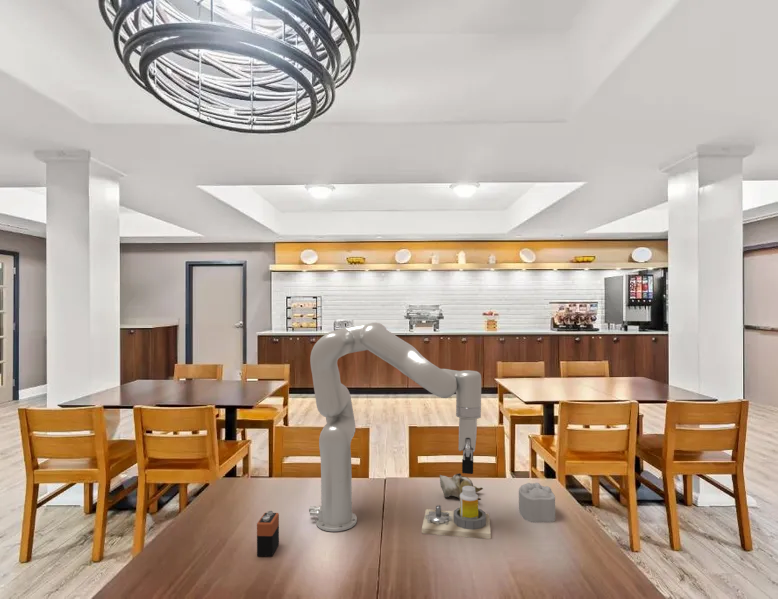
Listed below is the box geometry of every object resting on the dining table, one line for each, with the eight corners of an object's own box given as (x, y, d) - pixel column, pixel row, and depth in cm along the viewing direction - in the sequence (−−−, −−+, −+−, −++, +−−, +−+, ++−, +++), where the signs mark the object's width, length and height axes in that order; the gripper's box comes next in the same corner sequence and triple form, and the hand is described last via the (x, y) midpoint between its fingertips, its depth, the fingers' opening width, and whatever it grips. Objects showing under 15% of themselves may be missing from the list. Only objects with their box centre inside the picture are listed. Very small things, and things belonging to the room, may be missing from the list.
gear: (424, 524, 140) (424, 511, 140) (426, 512, 148) (426, 500, 148) (450, 526, 138) (450, 513, 138) (452, 514, 146) (452, 501, 146)
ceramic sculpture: (442, 465, 170) (483, 471, 166) (441, 488, 170) (482, 495, 166) (437, 476, 160) (481, 483, 156) (436, 501, 160) (480, 508, 156)
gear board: (421, 533, 138) (421, 528, 138) (426, 513, 150) (426, 509, 150) (490, 539, 134) (490, 533, 134) (489, 518, 147) (489, 513, 147)
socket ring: (453, 528, 138) (453, 519, 138) (454, 513, 147) (454, 505, 147) (486, 530, 136) (486, 522, 136) (485, 515, 145) (485, 507, 145)
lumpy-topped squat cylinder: (525, 522, 144) (525, 494, 144) (514, 504, 157) (514, 478, 157) (558, 522, 144) (558, 494, 144) (545, 504, 157) (545, 478, 157)
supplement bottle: (481, 524, 140) (481, 490, 140) (465, 527, 138) (465, 492, 138) (472, 516, 145) (472, 483, 145) (456, 519, 143) (456, 486, 143)
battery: (256, 557, 125) (256, 520, 125) (264, 544, 132) (264, 508, 132) (272, 557, 125) (272, 520, 125) (279, 544, 132) (279, 509, 132)
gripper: (457, 404, 151) (456, 457, 151) (454, 417, 134) (454, 477, 134) (480, 406, 150) (480, 459, 149) (481, 419, 133) (480, 479, 132)
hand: (467, 467), depth 142 cm, fingers open, 9 cm apart
